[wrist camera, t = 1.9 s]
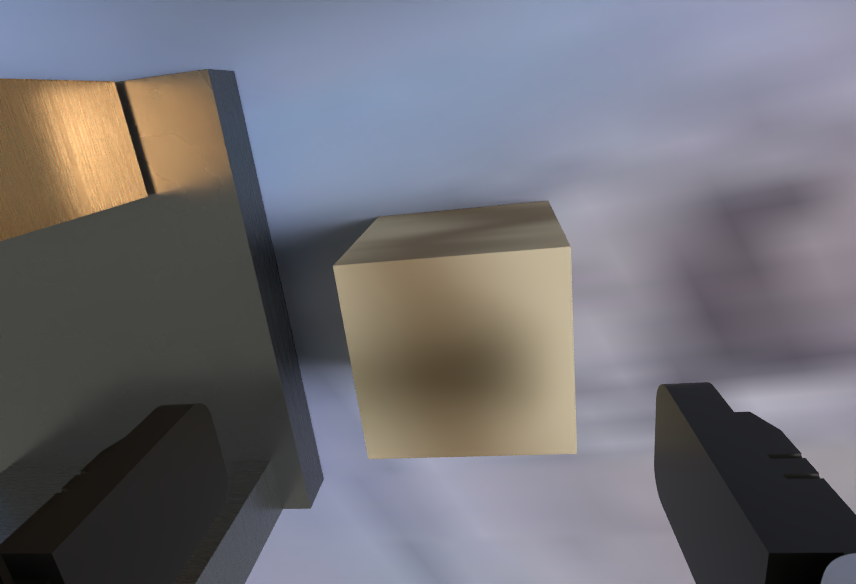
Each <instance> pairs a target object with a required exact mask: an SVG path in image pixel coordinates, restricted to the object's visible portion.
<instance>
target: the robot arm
mask: <svg viewBox="0 0 856 584" xmlns="http://www.w3.org/2000/svg"><path fill="white" fill-rule="evenodd" d="M654 471H655V479H656V485H657V490H658V494H659V498H660V501H661V503H662V506H663V508H664V511H665V513H666V515H667V517H668V520H669V522H670V524H671V527H672V529H673V531H674V534H675V536H676V538H677V541H678V543H679V545H680V548H681V550H682V552H683V555H684V557H685V559H686V562H687V564H688V566H689V569H690V571H691V573H692V575H693V578H694V580H695V582H696V584H856V515H855V514H854V512H853V511H852V510H851V509H850V508H849V507H848V506H847V504H846V503H845V502H844V501H843V500H842V499H841V498H840V497H839V495H838V494H837V493H836V492H835V491H834V490H833V489H832V488H831V486H830V485H829V484H828V483H827V482H826V481H825V480H824V478H822V479H820V477H819V473H818V472H817V471H816V469H815V468H814V467H813V466H812V465H811V464H810V463H809V462H808V460H807V459H806V458H802V456H801V452H800V451H799V450H798V449H797V448H796V447H795V446H794V445H793V443H792V442H791V441H790V440H789V439H788V438H787V437H786V436H785V434H784V433H783V432H782V431H781V430H780V429H778V428H776V427H775V426H773V425H771V424H769V423H768V422H766V421H764V420H763V419H761V418H759V417H758V416H756V415H754V414H753V413H751V412H733V410H732V409H731V408H730V406H729V405H728V404H727V403H726V401H725V400H724V399H723V398H722V396H721V395H720V394H719V392H718V391H717V390H716V389H715V387H714V386H713V385H712V384H711V383H708V382H703V383H680V384H661V385H660V386H659V387H658V390H657V397H656V424H655V454H654ZM80 472H81V473H80V475H75V476H74V477H73V478H72V479H71V480H70V481H69V482H68V483H67V484H66V485H64V486H63V487H62V491H61V493H56V494H55V495H54V496H52V497H51V498H50V499H49V500H48V501H47V502H46V503H45V504H44V505H43V506H42V507H40V508H39V509H38V510H37V511H36V512H35V513H34V514H33V515H32V516H31V517H30V518H28V519H27V520H26V521H25V522H24V523H23V524H22V525H21V526H20V527H19V528H18V529H16V530H15V531H14V532H13V533H12V534H11V535H10V536H9V537H8V538H7V539H6V540H5V541H3V542H2V543H1V544H0V584H173V583H174V582H175V580H176V579H177V577H178V576H179V574H180V573H181V571H182V570H183V568H184V566H185V565H186V563H187V562H188V560H189V559H190V557H191V556H192V554H193V552H194V551H195V549H196V548H197V546H198V545H199V543H200V542H201V540H202V539H203V537H204V535H205V534H206V532H207V531H208V529H209V528H210V526H211V525H212V523H213V521H214V520H215V518H216V517H217V515H218V514H219V512H220V511H221V509H222V507H223V505H224V503H225V499H226V496H227V490H228V475H227V470H226V466H225V463H224V459H223V456H222V452H221V448H220V445H219V441H218V437H217V434H216V430H215V426H214V423H213V419H212V416H211V413H210V411H209V409H208V408H207V407H206V406H205V405H204V404H201V403H194V404H172V405H161V406H159V407H157V408H156V409H154V410H153V411H152V412H151V413H150V414H149V415H148V416H147V417H146V418H145V419H144V420H143V421H142V422H141V423H140V424H138V425H137V426H136V427H135V428H134V429H133V430H132V431H131V432H130V433H129V434H128V435H127V436H126V437H124V438H122V439H121V440H119V441H118V442H116V443H114V444H113V445H111V446H109V447H108V448H106V449H104V450H103V451H102V452H100V453H99V454H98V455H97V456H96V457H95V458H94V459H93V460H92V461H91V462H90V463H88V464H87V465H86V466H85V467H84V468H83V469H82V470H81V471H80Z"/></svg>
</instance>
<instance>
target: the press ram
mask: <svg viewBox="0 0 856 584" xmlns="http://www.w3.org/2000/svg"><path fill="white" fill-rule="evenodd" d="M145 197H148V195H147V192H146V188H145V185H144V182H143V178H142V175H141V171H140V168H139V164H138V161H137V157H136V154H135V150H134V147H133V144H132V140H131V137H130V133H129V130H128V126H127V123H126V119H125V116H124V113H123V109H122V106H121V102H120V99H119V95H118V92H117V88H116V85H115V82H114V81H78V80H38V79H0V241H3V240H6V239H9V238H13V237H16V236H19V235H23V234H26V233H29V232H32V231H36V230H39V229H42V228H46V227H49V226H52V225H56V224H59V223H62V222H65V221H69V220H72V219H75V218H79V217H82V216H85V215H89V214H92V213H95V212H98V211H102V210H105V209H108V208H112V207H115V206H118V205H122V204H125V203H128V202H131V201H135V200H138V199H141V198H145Z"/></svg>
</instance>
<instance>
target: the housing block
mask: <svg viewBox="0 0 856 584" xmlns="http://www.w3.org/2000/svg"><path fill="white" fill-rule="evenodd" d="M333 269H334V275H335V280H336V286H337V291H338V297H339V302H340V307H341V313H342V318H343V324H344V329H345V335H346V340H347V345H348V351H349V356H350V362H351V367H352V373H353V378H354V383H355V389H356V394H357V400H358V405H359V410H360V416H361V421H362V427H363V432H364V438H365V443H366V448H367V454H368V459H388V458H427V457H467V456H506V455H545V454H577V440H576V407H575V374H574V342H573V309H572V277H571V246H570V244H569V242H568V240H567V238H566V236H565V234H564V232H563V230H562V228H561V226H560V224H559V222H558V220H557V218H556V216H555V214H554V211H553V209H552V207H551V205H550V203H549V201H541V202H530V203H519V204H509V205H498V206H487V207H477V208H466V209H455V210H444V211H434V212H423V213H412V214H402V215H391V216H380V217H378V218H377V219H376V220H375V221H374V222H373V223H372V224H371V225H370V226H369V228H368V229H367V230H366V231H365V232H364V233H363V234H362V235H361V236H360V237H359V238H358V239H357V240H356V241H355V243H354V244H353V245H352V246H351V247H350V248H349V249H348V250H347V251H346V252H345V253H344V254H343V255H342V256H341V258H340V259H339V260H338V261H337V262H336V263H335V264H334V265H333Z"/></svg>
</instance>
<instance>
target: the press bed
mask: <svg viewBox="0 0 856 584" xmlns="http://www.w3.org/2000/svg"><path fill="white" fill-rule="evenodd" d="M115 85H116V88H117V92H118V95H119V99H120V102H121V106H122V109H123V113H124V116H125V119H126V123H127V126H128V130H129V133H130V137H131V140H132V144H133V147H134V150H135V154H136V157H137V161H138V164H139V168H140V171H141V175H142V178H143V182H144V185H145V188H146V192H147V195H148V197H145V198H141V199H138V200H135V201H131V202H128V203H125V204H122V205H118V206H115V207H112V208H108V209H105V210H102V211H98V212H95V213H92V214H89V215H85V216H82V217H79V218H75V219H72V220H69V221H65V222H62V223H59V224H56V225H52V226H49V227H46V228H42V229H39V230H36V231H32V232H29V233H26V234H23V235H19V236H16V237H13V238H9V239H6V240H3V241H0V544H1V543H2V542H3V541H5V540H6V539H7V538H8V537H9V536H10V535H11V534H12V533H13V532H14V531H15V530H16V529H18V528H19V527H20V526H21V525H22V524H23V523H24V522H25V521H26V520H27V519H28V518H30V517H31V516H32V515H33V514H34V513H35V512H36V511H37V510H38V509H39V508H40V507H42V506H43V505H44V504H45V503H46V502H47V501H48V500H49V499H50V498H51V497H52V496H54V495H55V494H56V493H61V491H62V487H63V486H64V485H66V484H67V483H68V482H69V481H70V480H71V479H72V478H73V477H74V476H75V475H80V473H81V472H80V471H81V470H82V469H83V468H84V467H85V466H86V465H87V464H88V463H90V462H91V461H92V460H93V459H94V458H95V457H96V456H97V455H98V454H99V453H100V452H102V451H103V450H104V449H106V448H108V447H109V446H111V445H113V444H114V443H116V442H118V441H119V440H121V439H122V438H124V437H126V436H127V435H128V434H129V433H130V432H131V431H132V430H133V429H134V428H135V427H136V426H137V425H138V424H140V423H141V422H142V421H143V420H144V419H145V418H146V417H147V416H148V415H149V414H150V413H151V412H152V411H153V410H154V409H156V408H157V407H159V406H161V405H172V404H194V403H201V404H204V405H205V406H206V407H207V408H208V409H209V411H210V413H211V416H212V419H213V423H214V426H215V430H216V434H217V437H218V441H219V445H220V448H221V452H222V456H223V459H224V463H225V466H226V470H227V475H228V490H227V496H226V499H225V503H224V505H223V507H222V509H221V511H220V512H219V514H218V515H217V517H216V518H215V520H214V521H213V523H212V525H211V526H210V528H209V529H208V531H207V532H206V534H205V535H204V537H203V539H202V540H201V542H200V543H199V545H198V546H197V548H196V549H195V551H194V552H193V554H192V556H191V557H190V559H189V560H188V562H187V563H186V565H185V566H184V568H183V570H182V571H181V573H180V574H179V576H178V577H177V579H176V580H175V582H174V583H173V584H245V582H246V580H247V578H248V576H249V574H250V572H251V570H252V568H253V566H254V565H255V563H256V561H257V559H258V557H259V555H260V553H261V551H262V549H263V547H264V545H265V543H266V541H267V539H268V537H269V535H270V533H271V531H272V529H273V527H274V525H275V523H276V521H277V519H278V517H279V516H280V514H281V512H282V510H283V509H307V508H311V507H312V504H313V502H314V500H315V498H316V495H317V493H318V491H319V489H320V486H321V484H322V482H323V480H324V478H323V474H322V469H321V465H320V460H319V456H318V451H317V447H316V442H315V437H314V433H313V428H312V424H311V419H310V415H309V410H308V406H307V401H306V397H305V392H304V387H303V383H302V378H301V374H300V369H299V365H298V360H297V356H296V351H295V346H294V342H293V337H292V333H291V328H290V324H289V319H288V315H287V310H286V306H285V301H284V296H283V292H282V287H281V283H280V278H279V274H278V269H277V265H276V260H275V255H274V251H273V246H272V242H271V237H270V233H269V228H268V224H267V219H266V214H265V210H264V205H263V201H262V196H261V192H260V187H259V183H258V178H257V174H256V169H255V164H254V160H253V155H252V151H251V146H250V142H249V137H248V133H247V128H246V123H245V119H244V114H243V110H242V105H241V101H240V96H239V92H238V87H237V82H236V78H235V73H234V71H226V70H213V69H205V70H198V71H191V72H184V73H176V74H169V75H162V76H155V77H148V78H141V79H134V80H127V81H120V82H115Z"/></svg>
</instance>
